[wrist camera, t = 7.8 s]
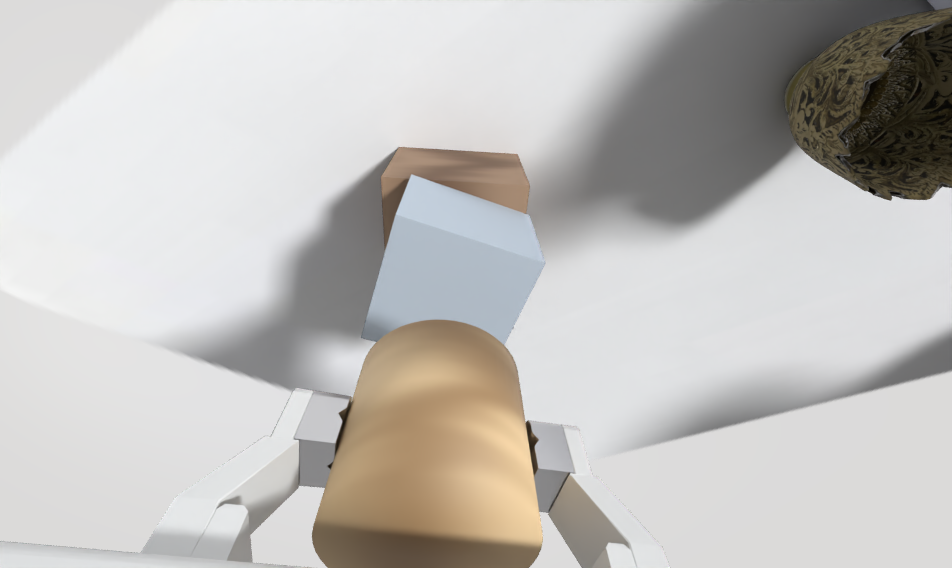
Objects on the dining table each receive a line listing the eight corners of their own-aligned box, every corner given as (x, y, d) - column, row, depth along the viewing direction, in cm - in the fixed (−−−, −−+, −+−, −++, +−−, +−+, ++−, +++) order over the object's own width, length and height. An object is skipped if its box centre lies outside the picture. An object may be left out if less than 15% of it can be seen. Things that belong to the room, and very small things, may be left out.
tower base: (517, 153, 25) (529, 185, 20) (505, 258, 29) (513, 307, 24) (399, 146, 25) (381, 177, 20) (402, 252, 28) (387, 302, 23)
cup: (782, 181, 26) (894, 234, 19) (716, 96, 24) (818, 123, 17) (908, 81, 23) (1092, 102, 16) (849, -28, 21) (1038, -58, 14)
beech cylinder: (537, 334, 13) (574, 490, 8) (497, 443, 15) (510, 606, 11) (369, 306, 12) (315, 460, 8) (355, 425, 14) (309, 590, 10)
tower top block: (529, 215, 21) (545, 263, 16) (486, 310, 24) (490, 372, 19) (411, 174, 20) (395, 214, 15) (381, 279, 22) (360, 337, 18)
